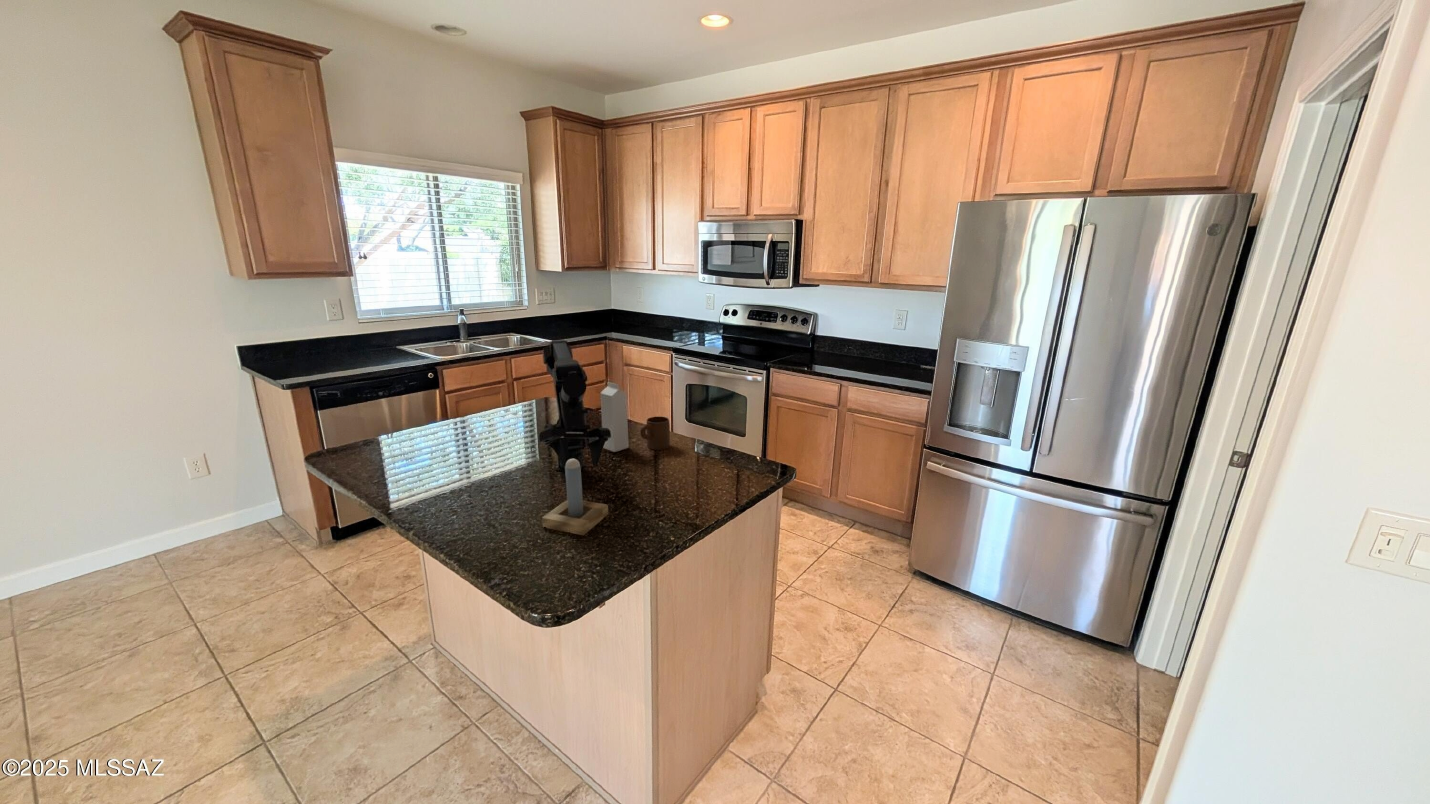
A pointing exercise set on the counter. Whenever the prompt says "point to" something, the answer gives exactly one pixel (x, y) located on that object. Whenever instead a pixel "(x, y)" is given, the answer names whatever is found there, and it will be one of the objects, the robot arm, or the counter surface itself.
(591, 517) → the wooden square frame
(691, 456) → the counter surface
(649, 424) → the mug
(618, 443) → the milk
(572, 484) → the blue-grey cylinder
